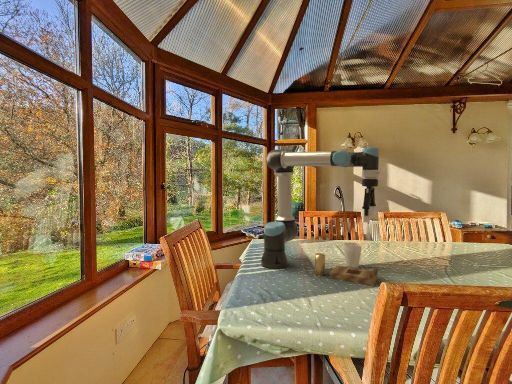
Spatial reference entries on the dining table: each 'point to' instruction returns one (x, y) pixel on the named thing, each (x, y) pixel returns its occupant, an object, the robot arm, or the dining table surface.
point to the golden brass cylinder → (320, 264)
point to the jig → (355, 275)
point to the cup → (352, 254)
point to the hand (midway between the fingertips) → (368, 220)
